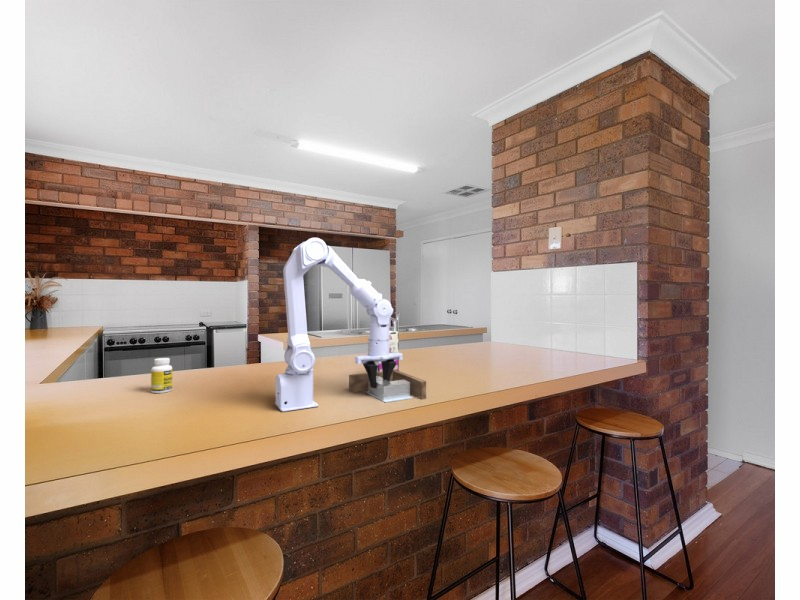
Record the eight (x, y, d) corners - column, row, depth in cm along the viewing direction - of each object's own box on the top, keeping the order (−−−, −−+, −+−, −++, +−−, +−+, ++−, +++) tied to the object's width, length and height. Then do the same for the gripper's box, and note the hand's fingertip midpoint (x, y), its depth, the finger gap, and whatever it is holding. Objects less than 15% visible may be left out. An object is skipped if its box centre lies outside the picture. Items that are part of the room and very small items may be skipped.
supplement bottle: (165, 393, 113) (164, 360, 113) (146, 393, 113) (146, 360, 113) (176, 389, 118) (176, 357, 118) (158, 389, 119) (158, 357, 118)
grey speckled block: (368, 390, 115) (368, 377, 115) (392, 387, 119) (393, 374, 119) (383, 400, 107) (383, 386, 106) (409, 396, 111) (410, 382, 111)
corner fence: (375, 406, 101) (375, 387, 101) (348, 391, 117) (349, 374, 117) (426, 398, 109) (426, 381, 109) (395, 385, 125) (395, 369, 125)
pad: (385, 402, 105) (385, 402, 105) (366, 392, 115) (366, 392, 115) (413, 398, 110) (413, 397, 110) (392, 389, 120) (392, 388, 120)
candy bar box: (388, 376, 138) (388, 330, 137) (399, 378, 135) (399, 331, 134) (367, 382, 129) (367, 333, 129) (378, 384, 126) (378, 334, 125)
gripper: (362, 343, 105) (362, 392, 105) (408, 339, 112) (407, 386, 113) (352, 340, 111) (352, 387, 112) (396, 337, 118) (395, 381, 119)
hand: (379, 386), depth 113 cm, fingers closed on grey speckled block, 3 cm apart
